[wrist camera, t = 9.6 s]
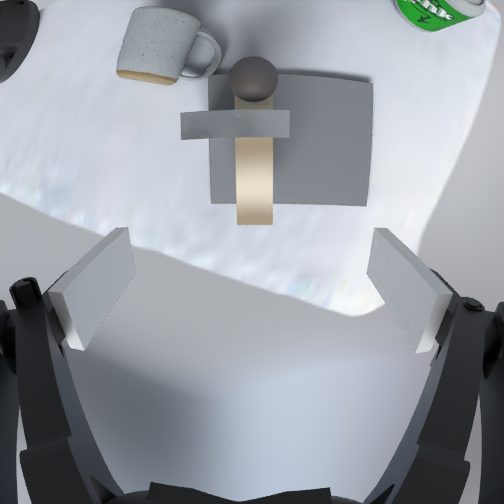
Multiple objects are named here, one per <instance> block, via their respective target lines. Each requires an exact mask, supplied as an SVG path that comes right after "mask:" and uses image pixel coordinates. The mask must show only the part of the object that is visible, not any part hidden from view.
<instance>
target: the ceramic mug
mask: <svg viewBox="0 0 504 504" xmlns="http://www.w3.org/2000/svg"><path fill="white" fill-rule="evenodd" d="M200 27H201V22H200V21H199V20H198V19H197V18H196V17H194V16H192V15H190V14H187V13H185V12H182V11H178V10H175V9H170V8H164V7H140V8H137V9H135V10H134V11H133V13H132V15H131V18H130V22H129V24H128V27H127V30H126V34H125V37H124V40H123V44H122V47H121V50H120V53H119V57H118V61H117V75H118V76H119V77H121V78H126V79H132V80H138V81H144V82H150V83H157V84H163V85H172V84H174V83H175V82H176V81H177V80H178V79H183V80H201V79H204V78H206V77H208V76H210V75H211V74H212V73H214V71H215V70H216V69H217V67H218V66H219V64H220V61H221V57H222V51H221V48H220V46H219V44H218V43H217V41H216V40H215V39H214V38H213V37H211V36H210V35H208V34H207V33H205V32H203V31H200ZM197 35H198V36H200V37H203V38H204V39H206V40H207V41H209V42H210V43H211V44H212V45H213V47H214V49H215V56H214V58H213V60H212V62H211V64H210V66H209V67H208V68H206V72H205V73H204V74H203V75H201V76H197V77H189V76H183V75H182V74H181V73H182V70H183V68H184V65H185V62H186V60H187V56H188V54H189V52H190V50H191V47H192V45H193V43H194V40H195V39H196V36H197Z"/></svg>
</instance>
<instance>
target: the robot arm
mask: <svg viewBox="0 0 504 504" xmlns="http://www.w3.org/2000/svg"><path fill="white" fill-rule="evenodd" d="M38 23H39V10H38V7H37V5H36V4H35V3H34V2H32V1H29V0H4V1H0V83H2V82H3V81H5V80H7V79H8V78H9V77H10V76H11V75H12V74H13V73H14V72H15V71H16V70H17V69H18V67H19V66H20V65H21V63H22V62H23V60H24V59H25V57H26V55H27V53H28V52H29V50H30V48H31V45H32V43H33V41H34V38H35V35H36V32H37V28H38ZM135 273H136V271H135V265H134V260H133V255H132V249H131V243H130V237H129V231H128V227H127V228H115V229H114V230H113V231H112V232H110V233H109V234H108V235H107V236H106V237H105V238H104V239H103V240H101V241H100V242H99V243H98V244H97V245H96V246H95V247H93V248H92V249H91V250H90V251H89V252H88V253H87V254H86V255H85V256H84V257H82V258H81V259H80V260H79V261H78V262H77V263H76V264H75V265H74V266H73V267H72V268H71V269H70V270H68V271H66V272H65V273H63V274H62V275H61V276H60V278H59V279H57V280H56V281H55V282H54V284H52V285H51V287H49V288H48V289H47V290H46V291H45V292H44V293H43V295H41V292H40V289H39V286H38V283H37V280H36V278H33V277H27V278H23V279H21V280H18V281H17V282H15V283H14V284H13V285H12V286H11V287H10V289H9V291H10V294H11V296H12V299H13V301H14V304H15V306H16V309H13V310H8V309H7V307H6V304H5V302H4V301H2V300H0V351H1V352H0V504H18V497H17V477H16V446H17V427H18V415H19V406H20V409H21V416H22V422H23V428H24V433H25V438H26V443H27V450H23V451H21V452H20V464H21V468H22V472H23V476H24V479H25V483H26V487H27V490H28V493H29V496H30V499H31V503H32V504H458V503H459V501H460V498H461V495H462V493H463V490H464V487H465V484H466V481H467V478H468V475H469V471H470V463H469V462H468V461H465V460H464V456H465V452H466V449H467V445H468V442H469V438H470V433H471V429H472V425H473V421H474V416H475V411H476V406H477V400H478V395H479V397H480V409H481V426H482V463H481V464H482V465H481V466H482V467H481V481H480V492H479V501H478V504H504V302H500V303H499V304H498V306H497V308H496V311H495V312H490V311H485V308H484V306H483V305H482V304H481V303H480V302H479V301H477V300H475V299H473V298H469V297H460V296H459V294H458V293H457V292H456V291H455V290H454V289H453V288H452V287H451V286H450V285H448V283H447V282H446V281H445V280H444V279H443V278H442V277H441V276H440V275H439V274H438V273H437V272H435V271H434V270H432V269H430V268H428V267H427V266H426V265H425V264H424V263H423V262H422V261H421V260H420V259H419V258H418V257H417V256H416V255H415V254H414V253H413V252H412V251H411V250H410V249H409V248H408V247H407V246H406V245H405V244H403V243H402V242H401V241H400V240H399V239H398V238H397V237H396V236H395V235H394V234H393V233H392V232H390V231H389V230H388V229H387V228H374V233H373V240H372V246H371V252H370V258H369V264H368V269H367V275H368V277H369V278H370V280H371V281H372V283H373V284H374V286H375V287H376V289H377V290H378V292H379V294H380V295H381V297H382V298H383V300H384V302H385V303H386V305H387V306H388V308H389V310H390V311H391V313H392V314H393V316H394V318H395V319H396V321H397V323H398V324H399V326H400V328H401V330H402V331H403V333H404V335H405V336H406V338H407V340H408V341H409V343H410V345H411V347H412V349H413V350H414V352H415V353H420V352H426V351H430V350H431V348H432V345H433V343H434V341H435V339H436V341H437V342H438V344H439V347H438V349H437V352H436V354H435V356H434V358H433V360H432V362H431V364H430V366H432V367H431V370H430V373H429V376H428V378H427V381H426V384H425V387H424V389H423V392H422V395H421V397H420V400H419V402H418V405H417V407H416V410H415V412H414V414H413V416H412V419H411V421H410V423H409V425H408V428H407V430H406V432H405V434H404V436H403V438H402V440H401V442H400V444H399V446H398V448H397V450H396V452H395V454H394V456H393V458H392V460H391V461H390V463H389V465H388V467H387V469H386V470H385V472H384V474H383V476H382V477H381V479H380V481H379V482H378V484H377V485H376V487H375V488H374V489H373V491H372V492H371V493H370V494H369V496H368V497H367V498H366V500H365V501H364V502H363V503H360V502H357V501H355V500H351V499H348V498H343V497H338V496H331V492H330V487H329V488H320V489H311V490H300V491H287V492H282V493H278V494H274V495H270V496H266V497H262V498H257V499H253V500H247V501H241V502H238V501H232V500H228V499H224V498H221V497H217V496H214V495H211V494H207V493H205V492H201V491H198V490H196V489H193V488H185V487H178V486H170V485H165V484H159V483H154V482H151V483H150V488H149V490H146V491H138V492H132V493H127V494H124V492H123V491H122V490H121V488H120V487H119V486H118V484H117V483H116V482H115V480H114V479H113V477H112V475H111V473H110V471H109V470H108V467H107V465H106V463H105V461H104V459H103V457H102V455H101V453H100V450H99V448H98V446H97V444H96V441H95V439H94V437H93V435H92V432H91V430H90V427H89V425H88V422H87V420H86V417H85V414H84V412H83V409H82V406H81V403H80V400H79V397H78V395H77V392H76V388H75V385H74V382H73V379H72V376H71V372H70V369H69V365H68V361H67V358H66V354H65V350H64V348H63V346H62V343H61V342H62V341H63V339H64V338H65V337H66V339H67V341H68V344H69V346H70V348H74V349H79V350H85V349H86V347H87V346H88V344H89V342H90V341H91V339H92V338H93V336H94V334H95V333H96V331H97V330H98V328H99V326H100V325H101V323H102V322H103V320H104V319H105V317H106V316H107V314H108V313H109V311H110V310H111V308H112V307H113V305H114V304H115V302H116V301H117V299H118V298H119V296H120V295H121V293H122V292H123V291H124V289H125V288H126V286H127V285H128V283H129V282H130V280H131V279H132V278H133V276H134V275H135Z"/></svg>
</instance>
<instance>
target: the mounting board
mask: <svg viewBox="0 0 504 504" xmlns="http://www.w3.org/2000/svg"><path fill="white" fill-rule="evenodd" d="M208 100H209V111H216V110H235V94H234V93H233V91H232V90H231V88H230V85H229V74H220V75H210V76H208ZM273 110H290V129H289V138H273V204H318V205H346V206H366V205H367V196H368V185H369V174H370V161H371V144H372V118H373V84H371V83H365V82H359V81H352V80H345V79H337V78H329V77H319V76H307V75H291V74H278V85H277V87H276V89H275V91H274V93H273ZM209 155H210V185H211V204H237V198H236V154H235V138H209Z"/></svg>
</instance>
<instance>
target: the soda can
mask: <svg viewBox="0 0 504 504" xmlns="http://www.w3.org/2000/svg"><path fill="white" fill-rule="evenodd" d="M394 1H395V5H396V8H397V9H398V11H399V13H400V14H401V16H402V17H403V18H404V19H405V20H406V21H407V22H408V23H409V24H411V25H412V26H413V27H415V28H417V29H419V30H421V31H424V32H435V31H438V30H441V29H443V28H446V27H448V26H451V25H454V24H457V23H459V22H462V21H465V20H468V19H471V18H474V17H477V16H480V15H481V14H483V13H484V11H485V7H486V6H485V2H486V0H394Z"/></svg>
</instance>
